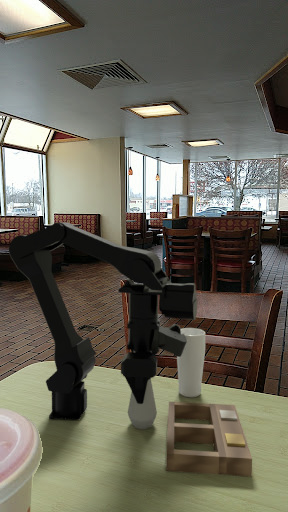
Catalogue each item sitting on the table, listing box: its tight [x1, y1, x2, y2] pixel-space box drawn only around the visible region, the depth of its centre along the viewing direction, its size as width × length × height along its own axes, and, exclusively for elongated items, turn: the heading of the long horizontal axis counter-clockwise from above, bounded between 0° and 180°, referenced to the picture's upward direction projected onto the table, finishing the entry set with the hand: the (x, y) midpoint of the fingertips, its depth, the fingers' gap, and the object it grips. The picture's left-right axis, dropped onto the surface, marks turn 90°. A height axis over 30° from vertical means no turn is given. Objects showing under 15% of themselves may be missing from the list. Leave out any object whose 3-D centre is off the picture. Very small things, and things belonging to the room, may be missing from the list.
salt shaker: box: [127, 378, 158, 430], centre depth 75 cm, size 6×6×13 cm
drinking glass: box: [176, 327, 206, 398], centre depth 89 cm, size 7×7×15 cm
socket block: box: [165, 401, 253, 478], centre depth 69 cm, size 14×18×3 cm
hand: (142, 392), depth 75 cm, fingers open, 9 cm apart
